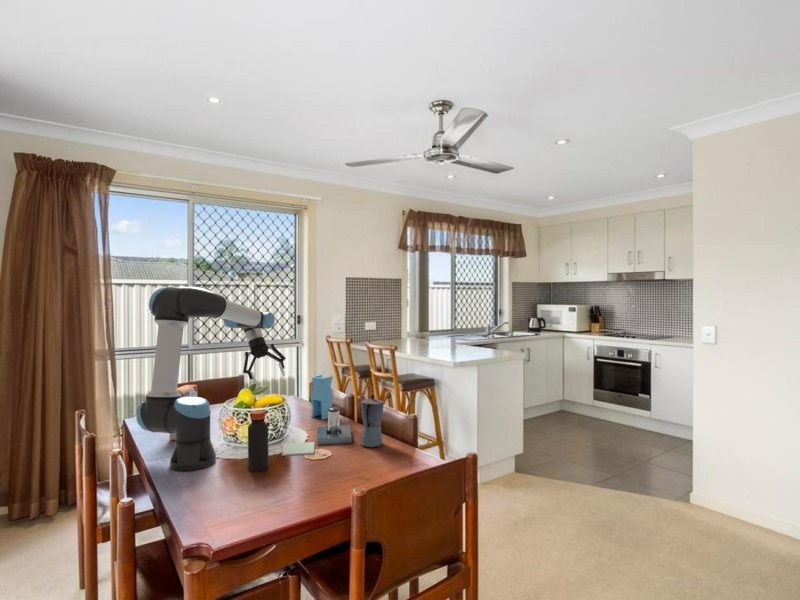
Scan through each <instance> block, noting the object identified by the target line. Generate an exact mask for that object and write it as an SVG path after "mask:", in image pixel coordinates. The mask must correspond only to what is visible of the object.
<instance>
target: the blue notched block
mask: <svg viewBox="0 0 800 600" xmlns="http://www.w3.org/2000/svg"><path fill="white" fill-rule="evenodd" d="M311 378H312V379H311V380H312V385H313V386H312V387H313V388H312V393H311V396H310V402H311V407H312V410H311V416H310V418H316V417H318V416H321V420H325V419H328V408H330V407H333V406H332V405H333V401H334V395H333V391H332V381H333V378H334V376H333V375H331V376H325V377H323V374H318V375H313V376H311Z"/></svg>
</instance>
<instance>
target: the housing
mask: <svg viewBox="0 0 800 600" xmlns="http://www.w3.org/2000/svg"><path fill="white" fill-rule="evenodd" d="M316 432H317V433H316V445H317V446H321V445H322V446H323V445H324V446H325V445H339V444H352V442H353V441H352V439H353V438H352V436H353V435H352V432H351V426H350V425H340V434H328V426H318V427H317V430H316Z"/></svg>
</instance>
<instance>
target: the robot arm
mask: <svg viewBox="0 0 800 600" xmlns="http://www.w3.org/2000/svg"><path fill="white" fill-rule="evenodd" d="M148 310H149V311H150V313H151V315H153V317H154V322H155V323H156V324H157V326H158V327H157V337H156V345H155V346H156V347H155V351H154V352H155V353H154V354H155V355H154V363H153V372H152V381H151V390H150V391H149V392H148V393H146V395H145V399H144V400H143V401H141V402H140V405H138V407H137V410H136V421H137V424H138V425H139V427H140V428H141V429H143V430H144V431H147V432H151V433H164V434H170V433H172V434H175V440H174V447H173V450H172V454H171V457H170V460H169V468H170V469H171V470H172V471H177V472H191V471H197V470H202V469H205V468H207V467H210V466H212V465H214V464H215V462H216V461H217V456H216V455H217V454H216V451H215V449H214V446H213V443H212V441H211V415H212V414H211V405H210V401H209V400H208V399H206V398H203V397H200V396H197V397H182V398H181V394H180V393H179V392H178V391H177V388H178V383H179V382H178V381H179V375H180V364H181V353H182V347H183V346H182V345H183V344H182V343H183V337H184V336H183V335H184V328H185V326H187V325H188V324H189V320H190V318H209V319H210V318H211V319H219V318H220V319H223V324H224V326H226V327H227V328H230V329H242V330H243V331H244V334H245V337H246V338H245V339H246V340H247V341H248V344H247V345H249V346H248V347H249V348H250V351H245V352H244V357H245V359H244V364H243V371H242V373H243V374H247V375H248V378H249V380H252V383H253V384H254V383H255V384H256V386H257V385H258V384H257V381H256V378H255V376H254V372H253V371H252V368H253V367H254V365H255V362H256V359H260V358H264V357H266V356H267V357H268V358H271V359H273V360H274V361H276V362H278V366H279V371H280V372H281V376H282V377H285V375H286V374H285V370H284V369H285V364H284V361H286V358H287V357H285V356H284V355H283V353H281V352H280V351H279V350H278V349H277V348H276V347H275V344H274V343H271V344H270V345H267V343H266V340H265V337H264V336H263V332H262V329H264V330H265V329H267V330H268V329H272V328H273V326H274V325H275V315H274V314H273V313H272V312H270V311H260V310H257V309H254V308H253V307H248V306H246V305H242V304H240V303H237V302H234V301H232V300H228V299H226V298H225V297H224V295H222V294H219V293H217V292H214V291H210V290H208V289H205V288H201V287H196V286H167V287H166V286H165V287H160V288H158V289H156V290H155V291H153V293H152V295H151V296H150V298H149V301H148ZM269 350H272V352H273V353H275V354H276V355H277V356H276V355H275V354H273V353H272V352H270V351H269ZM250 355H251V356H253V358H252V360H251V363H250V365H249V367H248V362H249V357H250ZM247 368H248V369H247Z"/></svg>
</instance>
